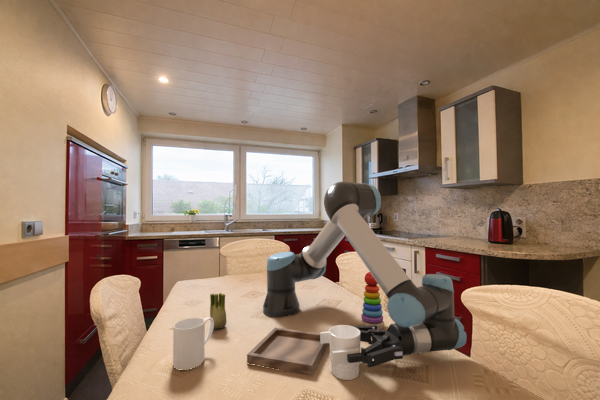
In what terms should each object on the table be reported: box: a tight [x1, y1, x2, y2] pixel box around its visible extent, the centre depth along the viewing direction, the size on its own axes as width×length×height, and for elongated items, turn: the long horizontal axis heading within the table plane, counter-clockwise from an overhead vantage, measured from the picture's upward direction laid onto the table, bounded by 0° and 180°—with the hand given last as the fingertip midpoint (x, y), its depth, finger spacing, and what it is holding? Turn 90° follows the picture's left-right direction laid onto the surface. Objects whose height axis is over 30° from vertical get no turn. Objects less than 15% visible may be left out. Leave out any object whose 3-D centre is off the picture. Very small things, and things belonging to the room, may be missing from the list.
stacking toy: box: [360, 271, 385, 330], centre depth 95 cm, size 8×8×19 cm
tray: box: [246, 327, 329, 377], centre depth 77 cm, size 18×18×2 cm
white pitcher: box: [172, 316, 214, 370], centre depth 74 cm, size 12×8×10 cm, turn 150°
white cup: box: [328, 324, 361, 381], centre depth 67 cm, size 8×8×10 cm
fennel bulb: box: [209, 292, 227, 330], centre depth 96 cm, size 6×5×12 cm
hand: (326, 347), depth 66 cm, fingers open, 10 cm apart
